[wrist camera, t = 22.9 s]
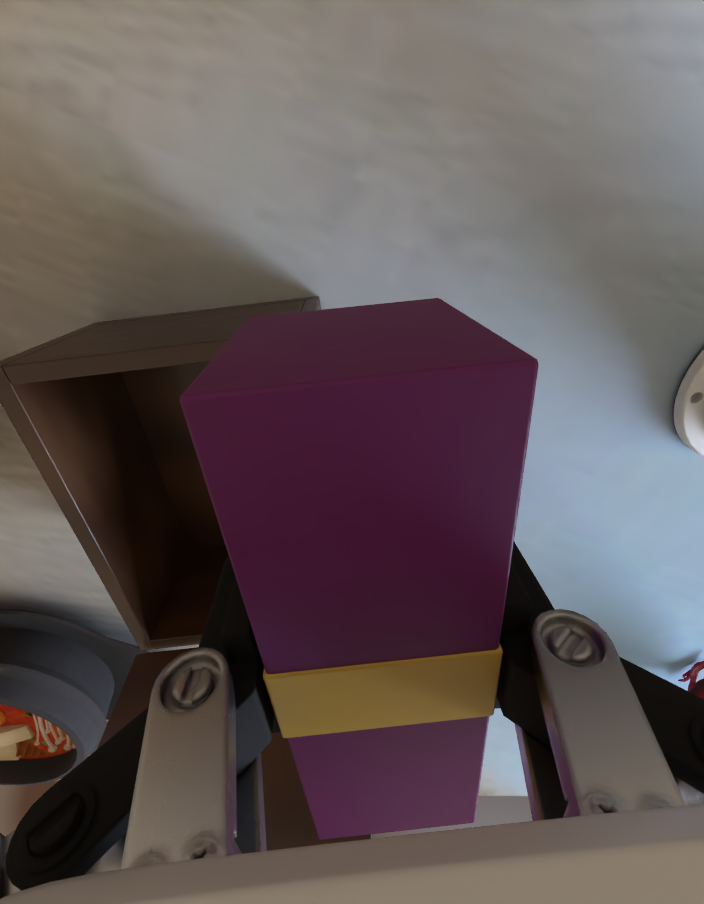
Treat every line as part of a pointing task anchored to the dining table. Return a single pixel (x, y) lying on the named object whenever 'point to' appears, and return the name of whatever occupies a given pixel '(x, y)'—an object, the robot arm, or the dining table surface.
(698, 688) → the decorative bird figurine
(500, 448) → the candy bar
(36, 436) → the chest
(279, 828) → the lid
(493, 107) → the dining table surface
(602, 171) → the dining table surface
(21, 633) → the casserole
